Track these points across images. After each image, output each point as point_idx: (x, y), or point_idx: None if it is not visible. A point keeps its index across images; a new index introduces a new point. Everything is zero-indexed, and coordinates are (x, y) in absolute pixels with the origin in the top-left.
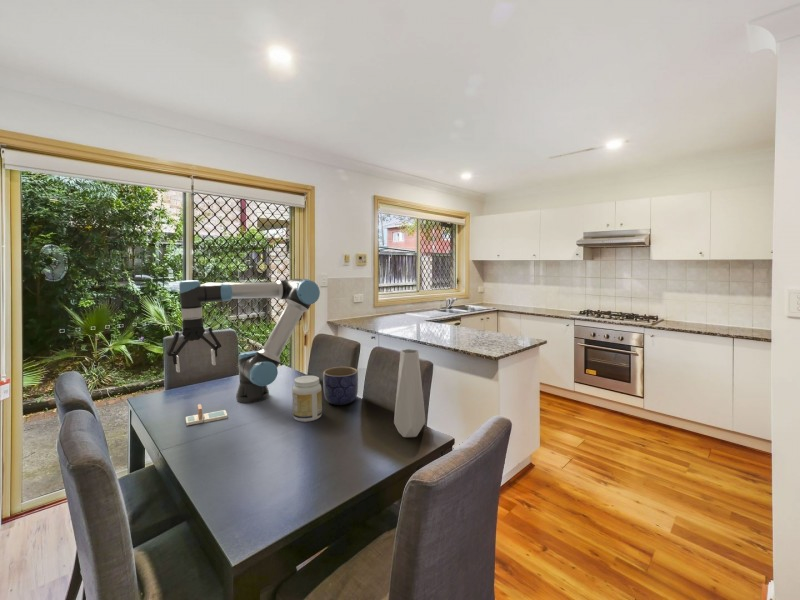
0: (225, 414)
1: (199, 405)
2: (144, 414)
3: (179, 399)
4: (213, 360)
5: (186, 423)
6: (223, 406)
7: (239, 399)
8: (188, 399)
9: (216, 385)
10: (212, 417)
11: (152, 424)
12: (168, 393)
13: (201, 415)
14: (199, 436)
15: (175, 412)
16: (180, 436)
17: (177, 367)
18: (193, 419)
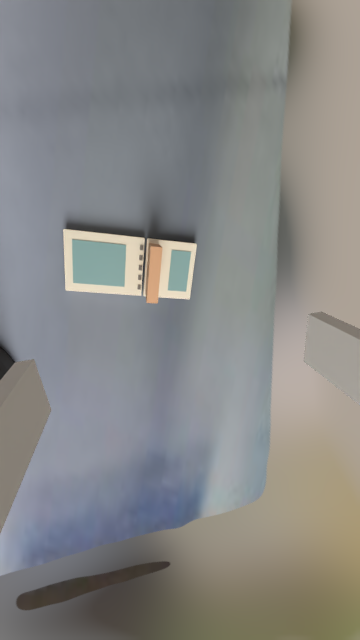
0: (69, 242)
1: (153, 288)
2: (264, 394)
3: (177, 457)
4: (12, 389)
5: (195, 244)
6: (69, 347)
7: (6, 362)
8: (156, 448)
9: (72, 521)
10: (115, 241)
11: (264, 314)
12: (193, 505)
13: (151, 244)
14: (175, 112)
15: (201, 370)
16: (224, 161)
17: (355, 329)
18: (173, 257)
